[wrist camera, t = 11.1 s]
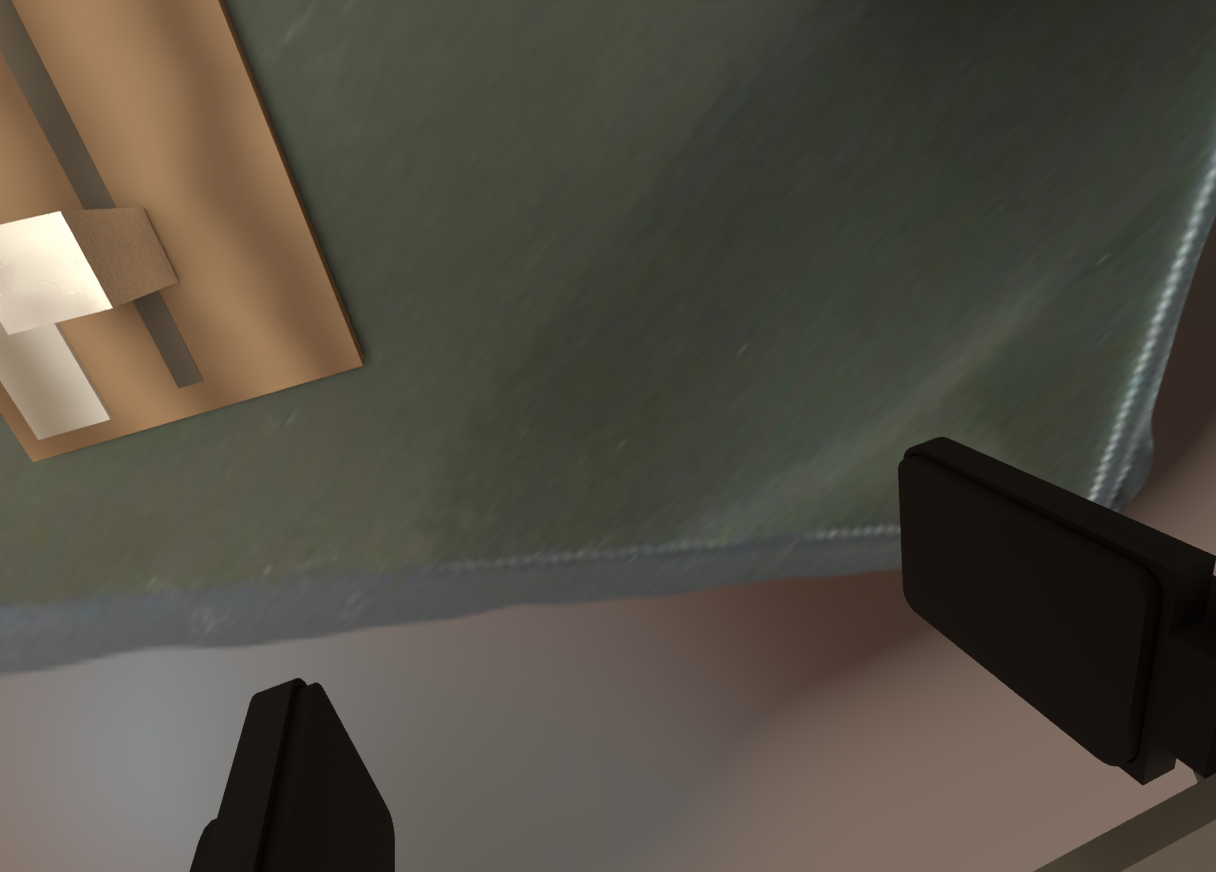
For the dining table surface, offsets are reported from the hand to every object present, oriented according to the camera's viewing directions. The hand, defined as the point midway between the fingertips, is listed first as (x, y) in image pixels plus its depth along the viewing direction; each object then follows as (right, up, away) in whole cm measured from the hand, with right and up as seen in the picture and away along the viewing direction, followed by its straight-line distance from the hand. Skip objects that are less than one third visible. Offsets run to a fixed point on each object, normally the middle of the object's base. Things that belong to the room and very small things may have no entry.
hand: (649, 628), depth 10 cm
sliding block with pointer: (-25, +11, +19) cm, 33 cm away
